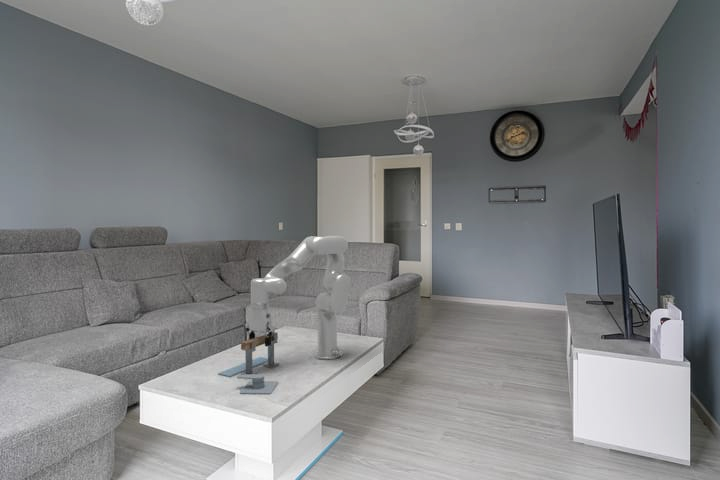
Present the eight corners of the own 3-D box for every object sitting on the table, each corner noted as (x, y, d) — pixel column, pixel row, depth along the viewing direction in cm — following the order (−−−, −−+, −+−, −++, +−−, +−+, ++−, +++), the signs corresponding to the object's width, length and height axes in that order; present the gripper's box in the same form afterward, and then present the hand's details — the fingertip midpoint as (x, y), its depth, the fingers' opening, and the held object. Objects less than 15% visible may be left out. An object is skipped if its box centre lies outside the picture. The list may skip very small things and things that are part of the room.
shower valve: (243, 369, 174) (278, 370, 173) (243, 382, 174) (278, 383, 173) (232, 381, 161) (270, 381, 161) (232, 395, 162) (270, 395, 161)
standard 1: (258, 374, 182) (257, 341, 182) (250, 378, 178) (249, 344, 177) (248, 372, 185) (247, 340, 185) (239, 375, 181) (239, 342, 180)
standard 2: (279, 365, 194) (279, 334, 194) (272, 368, 190) (272, 337, 189) (269, 363, 197) (269, 332, 197) (262, 366, 193) (262, 335, 192)
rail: (277, 339, 195) (277, 332, 195) (246, 350, 178) (246, 343, 178) (272, 338, 197) (272, 332, 196) (241, 349, 179) (241, 342, 179)
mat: (271, 360, 202) (271, 359, 202) (229, 377, 179) (229, 376, 179) (260, 358, 205) (260, 356, 205) (218, 374, 183) (218, 373, 183)
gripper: (280, 306, 186) (280, 344, 186) (251, 303, 194) (251, 339, 195) (268, 309, 179) (268, 349, 180) (239, 305, 188) (239, 343, 188)
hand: (259, 344), depth 187 cm, fingers open, 9 cm apart
